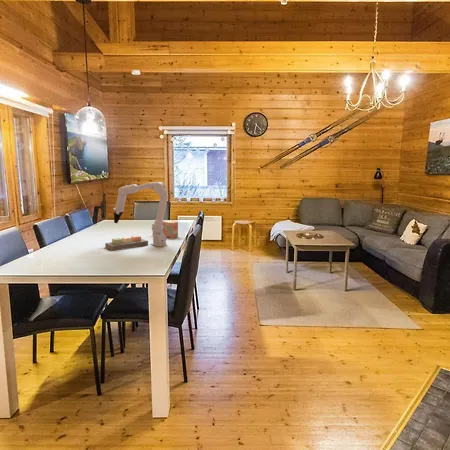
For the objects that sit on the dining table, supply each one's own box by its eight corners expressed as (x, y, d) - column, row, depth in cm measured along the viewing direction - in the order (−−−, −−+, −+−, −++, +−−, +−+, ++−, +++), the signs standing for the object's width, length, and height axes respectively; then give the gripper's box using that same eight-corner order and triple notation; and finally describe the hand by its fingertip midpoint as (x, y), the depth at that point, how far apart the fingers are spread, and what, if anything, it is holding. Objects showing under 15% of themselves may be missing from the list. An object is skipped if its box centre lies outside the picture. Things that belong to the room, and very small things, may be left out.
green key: (122, 243, 239) (121, 239, 239) (115, 244, 236) (114, 240, 236) (119, 242, 243) (119, 238, 243) (112, 243, 240) (111, 238, 239)
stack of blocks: (152, 235, 283) (151, 220, 281) (157, 234, 288) (157, 219, 286) (173, 238, 272) (173, 222, 270) (178, 236, 278) (178, 221, 276)
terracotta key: (141, 241, 248) (141, 236, 247) (134, 242, 245) (134, 237, 244) (138, 239, 252) (137, 235, 251) (131, 240, 249) (131, 236, 248)
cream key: (131, 242, 244) (131, 237, 243) (125, 243, 240) (124, 238, 240) (128, 241, 247) (128, 236, 247) (122, 242, 244) (121, 237, 244)
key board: (148, 245, 248) (147, 240, 247) (112, 250, 232) (112, 246, 231) (140, 242, 257) (140, 238, 257) (105, 247, 241) (105, 243, 240)
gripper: (116, 200, 252) (112, 218, 254) (113, 203, 238) (109, 222, 240) (126, 202, 253) (121, 220, 256) (123, 206, 239) (119, 225, 242)
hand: (116, 221), depth 248 cm, fingers open, 7 cm apart
